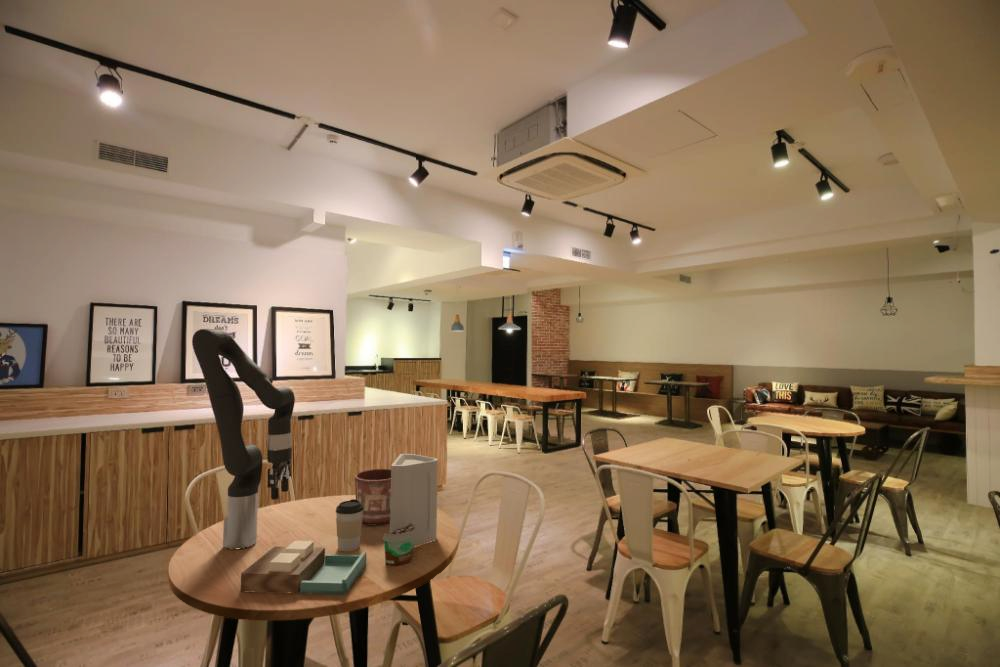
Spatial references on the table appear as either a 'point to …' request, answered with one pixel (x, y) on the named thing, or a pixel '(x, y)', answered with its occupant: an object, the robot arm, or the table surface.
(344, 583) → the tray
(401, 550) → the food container
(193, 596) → the table surface
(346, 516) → the coffee cup
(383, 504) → the pottery
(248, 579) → the walnut board
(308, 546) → the tile
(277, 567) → the tile
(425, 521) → the white wifi router
